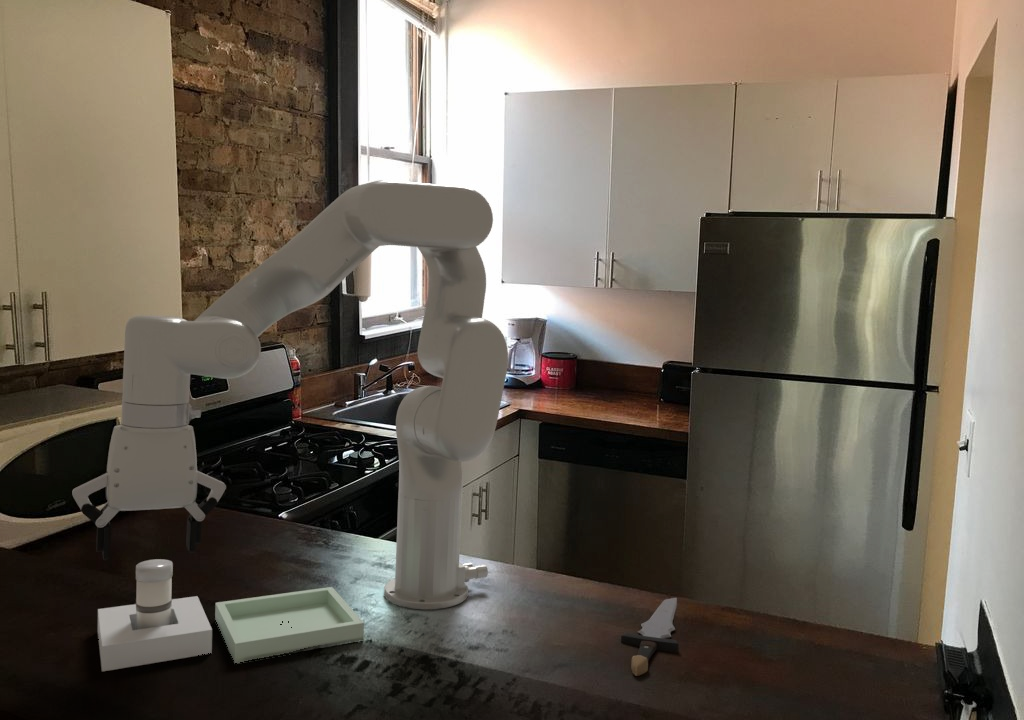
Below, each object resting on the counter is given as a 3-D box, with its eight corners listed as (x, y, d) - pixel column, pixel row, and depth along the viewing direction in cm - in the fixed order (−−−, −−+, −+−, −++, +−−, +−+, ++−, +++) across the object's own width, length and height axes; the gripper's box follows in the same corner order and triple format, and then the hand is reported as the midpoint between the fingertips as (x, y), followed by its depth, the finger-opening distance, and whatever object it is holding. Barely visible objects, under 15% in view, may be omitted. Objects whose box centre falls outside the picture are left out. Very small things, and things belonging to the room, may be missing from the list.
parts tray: (331, 603, 116) (332, 586, 115) (363, 641, 103) (364, 622, 103) (215, 620, 108) (215, 602, 108) (234, 663, 96) (235, 643, 95)
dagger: (614, 678, 98) (615, 661, 97) (630, 589, 129) (631, 576, 129) (677, 687, 96) (678, 670, 96) (678, 595, 127) (679, 582, 127)
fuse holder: (197, 617, 108) (197, 596, 108) (211, 653, 98) (212, 629, 98) (97, 631, 103) (97, 609, 102) (101, 671, 92) (102, 646, 92)
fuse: (169, 633, 103) (170, 557, 102) (173, 646, 100) (174, 567, 99) (133, 638, 101) (134, 561, 100) (136, 652, 97) (137, 572, 97)
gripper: (223, 412, 106) (217, 539, 107) (74, 412, 97) (69, 550, 98) (234, 420, 99) (227, 556, 100) (75, 421, 91) (69, 569, 92)
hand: (149, 553), depth 99 cm, fingers open, 9 cm apart
